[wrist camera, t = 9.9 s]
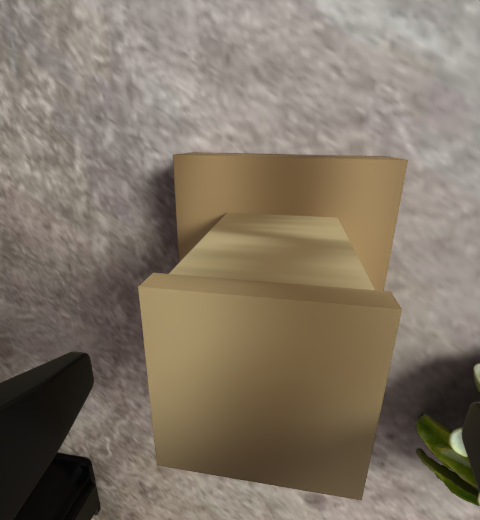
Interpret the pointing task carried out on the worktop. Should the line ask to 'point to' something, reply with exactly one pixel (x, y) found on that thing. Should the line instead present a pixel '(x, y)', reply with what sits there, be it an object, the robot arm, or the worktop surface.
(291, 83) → the worktop surface
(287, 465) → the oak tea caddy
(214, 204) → the walnut block
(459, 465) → the passion flower
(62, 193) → the worktop surface
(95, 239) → the worktop surface
